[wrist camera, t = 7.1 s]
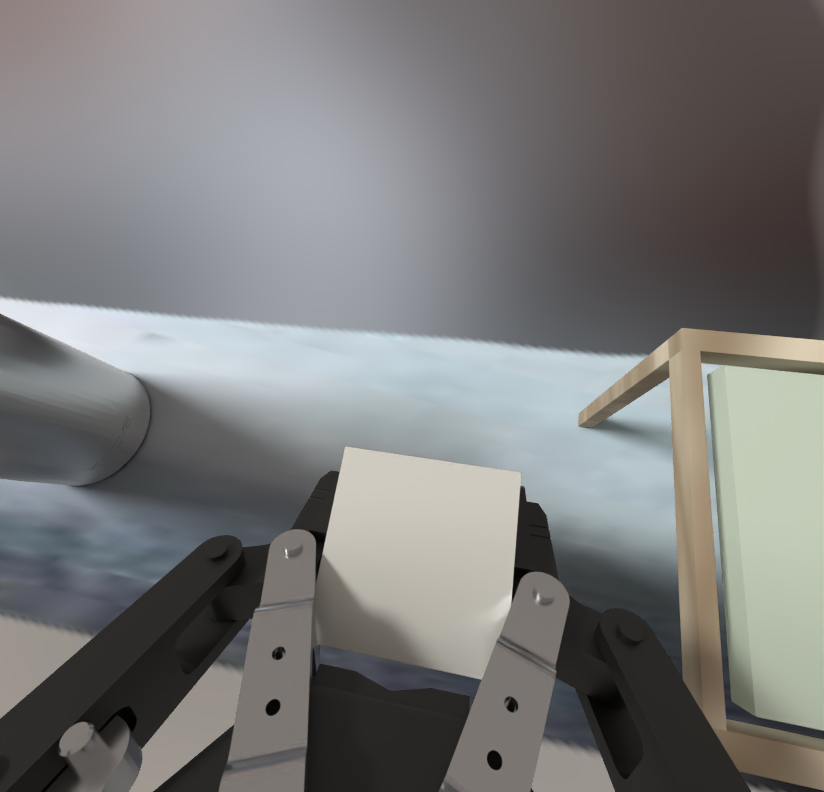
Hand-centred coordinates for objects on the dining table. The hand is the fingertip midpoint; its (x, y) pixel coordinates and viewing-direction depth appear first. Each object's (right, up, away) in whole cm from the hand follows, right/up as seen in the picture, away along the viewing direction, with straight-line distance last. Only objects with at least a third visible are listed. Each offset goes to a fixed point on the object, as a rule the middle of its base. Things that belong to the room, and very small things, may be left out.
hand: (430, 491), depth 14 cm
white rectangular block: (0, -3, +4) cm, 5 cm away
